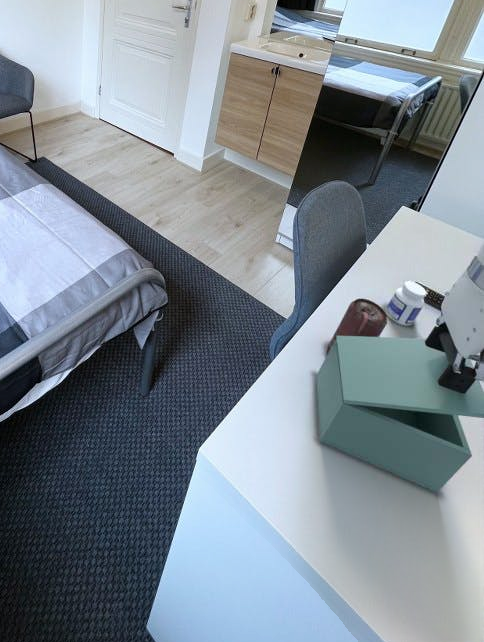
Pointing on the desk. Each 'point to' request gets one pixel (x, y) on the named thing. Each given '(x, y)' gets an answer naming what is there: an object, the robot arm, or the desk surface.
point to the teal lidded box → (390, 433)
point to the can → (361, 321)
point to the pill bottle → (406, 303)
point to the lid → (403, 375)
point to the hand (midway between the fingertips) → (443, 366)
